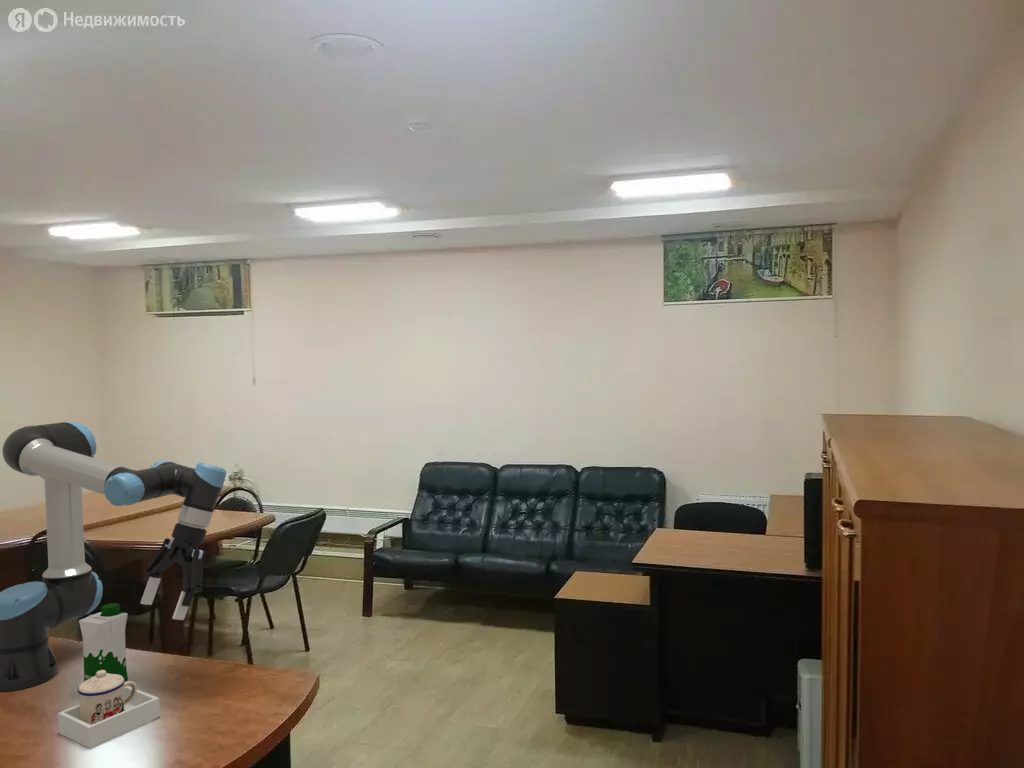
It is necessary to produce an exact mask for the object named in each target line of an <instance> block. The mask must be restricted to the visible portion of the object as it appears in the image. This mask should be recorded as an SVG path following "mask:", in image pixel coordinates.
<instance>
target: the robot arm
mask: <svg viewBox="0 0 1024 768" xmlns="http://www.w3.org/2000/svg"><path fill="white" fill-rule="evenodd" d="M96 452H97V441H96V438H95V436H94V434H93V432H92V431H91V430H90V429H89V428H88V426H86V425H84V424H83V423H81V422H76V421H75V422H73V421H70V422H69V421H67V422H65V421H63V422H54V423H46V424H38V425H28V426H27V425H26V426H24V427H23V426H22V427H21V428H18V429H16V430H14V431H13V432H11V433H10V434H9V435H8V436H7V438H6V439H5V441H4V442H3V445H2V456H3V457H2V458H3V460H4V463H6V465H7V466H8V467H10V468H11V469H12V470H14V471H15V472H18V473H22V474H24V475H27V476H32V477H35V476H36V477H37V476H39V477H40V478H42V480H44V498H45V517H46V519H45V520H46V523H45V524H46V539H47V540H46V541H47V542H46V543H47V563H48V564H47V566H48V567H47V569H46V570H45V571H43V573H42V575H41V576H42V577H41V578H42V581H29V582H24V583H20V584H16V585H13V586H10V587H8V588H5V589H3V590H2V591H0V692H10V691H18V690H22V689H27V688H31V687H34V686H38V685H40V684H42V683H45V682H47V681H49V680H50V679H52V678H54V677H56V675H57V674H58V672H59V671H58V670H59V668H58V660H57V658H56V657H55V654H54V652H53V650H52V647H51V645H50V642H49V629H53V628H55V627H58V626H60V625H62V624H65V623H68V622H71V621H73V620H77V619H78V620H79V619H82V617H84V616H85V615H87V614H90V613H91V612H93V611H94V610H96V609H97V607H99V604H100V603H101V600H102V597H103V591H104V590H103V589H104V588H103V587H104V586H103V583H102V580H100V579H99V578H100V576H98V575H99V574H97V573H96V572H94V571H92V566H91V565H90V564H88V563H86V553H85V534H84V532H85V531H84V515H83V514H84V513H83V511H84V510H83V489H86V490H89V491H92V492H94V493H95V492H96V493H98V494H101V495H103V496H105V499H106V500H107V501H109V503H110V504H111V505H113V506H115V507H122V506H131V505H135V504H138V503H140V502H145V501H149V500H153V499H158V498H161V497H166V496H171V495H174V496H176V497H177V496H178V497H182V498H184V499H183V503H182V505H181V508H180V510H179V513H178V516H177V519H176V520H177V521H178V522H177V523H175V524H174V528H173V530H172V533H171V537H172V538H165V539H164V540H163V542H162V544H161V547H159V549H158V550H157V552H156V553H155V555H154V556H153V557H152V558H151V560H150V561H149V563H148V564H147V565H146V567H145V569H144V572H146V573H148V578H147V581H146V583H145V587H144V588H145V589H144V592H143V595H142V597H141V600H140V604H141V605H146V606H147V605H149V606H152V605H153V602H154V599H155V598H156V597H155V596H156V594H157V590H158V588H159V585H160V583H161V580H162V578H161V577H162V575H163V574H164V572H166V570H167V569H169V568H170V567H171V566H172V565H173V564H174V563H177V564H179V565H180V567H181V571H182V577H183V583H184V584H183V586H184V589H182V590H181V593H180V595H179V598H178V601H177V603H176V607H175V609H174V611H173V615H172V618H171V619H172V620H178V621H184V620H185V618H186V615H187V612H188V609H189V607H190V606H191V603H192V600H193V597H194V595H195V594H196V593H202V591H203V585H204V584H203V582H204V577H203V576H204V561H205V557H206V553H207V552H206V551H205V550H202V549H199V548H198V546H199V545H202V544H203V543H204V541H205V537H206V534H207V532H208V531H207V528H208V527H209V526H210V523H211V520H212V516H213V514H214V511H215V508H216V505H217V503H218V499H219V498H220V495H221V493H222V490H223V488H224V483H225V480H226V476H227V470H226V469H225V468H223V467H219V466H216V465H213V464H210V463H205V462H198V463H197V464H196V467H194V468H193V467H190V466H189V467H188V466H185V465H182V464H179V463H177V462H174V461H167V460H158V461H156V462H155V463H154V464H153V465H150V467H149V468H143V469H139V470H136V469H131V468H128V467H123V466H122V465H118V464H114V463H111V462H108V461H105V460H101V459H98V458H94V457H95V456H94V455H96Z"/></svg>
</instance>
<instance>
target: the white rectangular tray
mask: <svg viewBox="0 0 1024 768" xmlns="http://www.w3.org/2000/svg"><path fill="white" fill-rule="evenodd" d="M131 692H132V686H131V685H127V686H124V700H126V699H127V698H128V697H129V696H130V694H131ZM124 706H125V711H123V712H121V713H119V714H116V715H114V716H111V717H109V718H107V719H104V720H102V721H100V722H97V723H95V724H93V725H90V724H87V723H85V722H83V721H81V720H80V704H78V705H75V706H73V707H70V708H68V709H65V710H63V711H60V712H57V719H58V721H57V722H58V734H60V736H61V735H62V736H64V737H66V738H68V739H69V740H72V741H73V742H76V744H77V743H78V744H79V745H81V746H83V747H85V748H88V749H89V750H90V748H91V749H92V748H95V747H98V746H99V744H100V745H102V744H105V743H106V742H108V741H110V740H112V739H115V738H117V737H119V736H122V735H124V734H126V733H128V732H131V731H133V730H135V729H137V728H139V727H141V726H144V725H146V724H149V723H150V722H153V721H155V720H157V719H159V718H158V717H160V714H161V713H160V697H157V696H155V695H152V694H150V693H147V692H146V691H142V690H140V689H137V691H136V694H135V696H134V698H133V699H132V701H131V702H129V703H128V704H126V705H124ZM156 718H157V719H156ZM154 719H155V720H154Z"/></svg>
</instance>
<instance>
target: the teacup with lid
mask: <svg viewBox="0 0 1024 768" xmlns="http://www.w3.org/2000/svg"><path fill="white" fill-rule="evenodd" d="M125 686H131V687H132V692H131V694H130V696H129V697H128V698H127V699H126V700H124V687H125ZM137 690H138V687H137V684H136V683H135V682H134V681H133V680H132V681H131V680H128V681H126V682H125V680H124V678H123V677H122V676H121V675H118V674H109V673H106V671H105V670H100V671H98V672H97V673H96V675H95V676H94V677H92V678H90V679H88V680H86V681H84V680H83V682H81V683H80V684H79V686H78V688H77V693H78V696H79V697H78V698H79V705H80V720H81V721H83V722H85V723H87V724H90V725H93V724H95V723H97V722H100V721H102V720H104V719H107V718H109V717H111V716H114V715H116V714H119V713H121V712H123V711H125V706H124V705H126V704H128V703H129V702H131V701H132V699H133V698H134V696H135V694H136V691H137Z"/></svg>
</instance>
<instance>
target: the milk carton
mask: <svg viewBox="0 0 1024 768" xmlns="http://www.w3.org/2000/svg"><path fill="white" fill-rule="evenodd" d="M100 609H101V610H100V612H99V611H98V612H96V613H95V614H94V613H93V614H91V615H88V616H86V617H84V618H80V619H78V623H79V628H80V632H81V636H82V637H81V638H82V650H83V651H82V655H83V657H82V658H83V682H84V681H86V680H88V679H90V678H92V677H94V676H95V675H96V673H97V672H98V671H100V670H105V671H106V673H109V674H118V675H121V676H122V677H123V678H124V680H125V682H126V681H129V678H128V670H127V656H126V655H127V654H126V653H127V652H126V626H127V625H126V624H127V621H128V615H129V614H128V613H127V612H124V611H121V609H120V603H117V602H112V603H107V604H104V605H102V606H101V607H100Z"/></svg>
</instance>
